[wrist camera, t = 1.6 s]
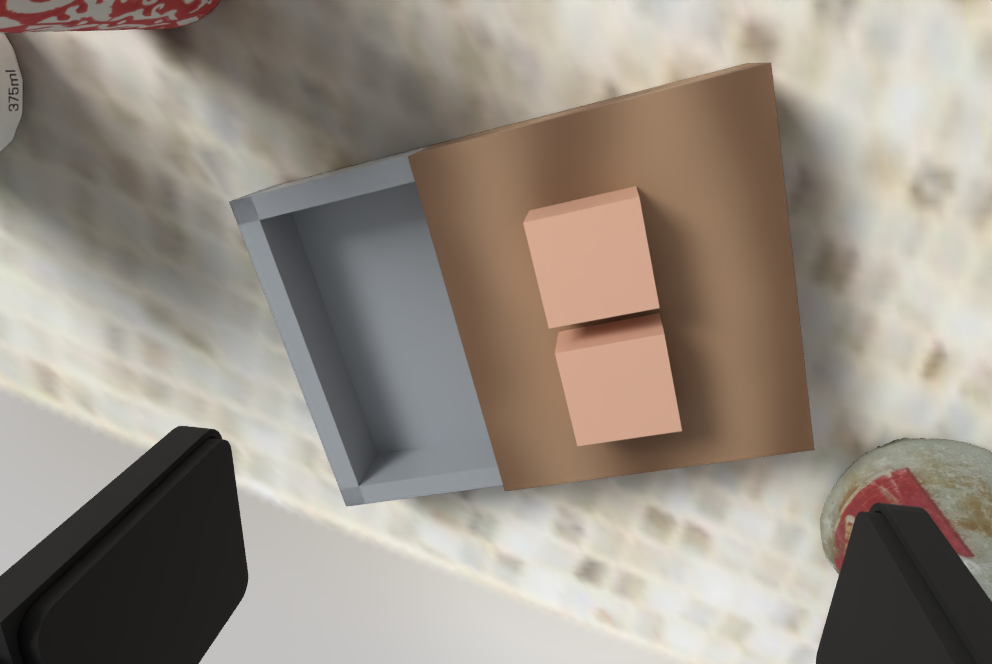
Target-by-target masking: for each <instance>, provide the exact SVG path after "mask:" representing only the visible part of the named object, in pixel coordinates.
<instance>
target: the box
mask: <svg viewBox="0 0 992 664" xmlns="http://www.w3.org/2000/svg"><path fill="white" fill-rule="evenodd" d="M430 146H431V145H430ZM427 147H429V146H427ZM427 147H423V148H419V149H415V150H411V151H407V152H403V153H400V154H396V155H392V156H388V157H384V158H380V159H376V160H373V161H369V162H365V163H361V164H357V165H353V166H350V167H346V168H342V169H338V170H334V171H330V172H326V173H323V174H319V175H315V176H311V177H307V178H303V179H299V180H296V181H292V182H288V183H284V184H280V185H276V186H272V187H269V188H266V189H263V190H260V191H257V192H255V193H252V194H249V195H246V196H244V197H241V198H238V199H235V200H233V201H230V202H229V203H230V205H231V208H232V210H233V213H234V216H235V218H236V221H237V223H238V226H239V229H240V231H241V234H242V236H243V239H244V242H245V244H246V247H247V249H248V252H249V255H250V257H251V260H252V262H253V265H254V268H255V270H256V273H257V275H258V278H259V281H260V283H261V286H262V288H263V291H264V294H265V296H266V299H267V301H268V304H269V307H270V309H271V312H272V314H273V317H274V320H275V322H276V325H277V327H278V330H279V333H280V335H281V338H282V340H283V343H284V346H285V348H286V351H287V353H288V356H289V359H290V361H291V364H292V366H293V369H294V372H295V374H296V377H297V380H298V382H299V385H300V387H301V390H302V393H303V395H304V398H305V400H306V403H307V406H308V408H309V411H310V413H311V416H312V419H313V421H314V424H315V426H316V429H317V432H318V434H319V437H320V439H321V442H322V445H323V447H324V450H325V452H326V455H327V458H328V460H329V463H330V465H331V468H332V471H333V473H334V476H335V478H336V481H337V484H338V486H339V489H340V491H341V494H342V497H343V499H344V502H345V504H346V506H354V505H361V504H369V503H376V502H383V501H391V500H398V499H405V498H413V497H420V496H427V495H435V494H442V493H450V492H457V491H464V490H472V489H479V488H486V487H494V486H501V485H503V483H502V479H501V476H500V473H499V469H498V466H497V462H496V459H495V455H494V452H493V448H492V445H491V442H490V438H489V435H488V431H487V428H486V424H485V421H484V417H483V414H482V411H481V407H480V404H479V400H478V397H477V393H476V390H475V386H474V383H473V380H472V376H471V373H470V369H469V366H468V362H467V359H466V355H465V352H464V349H463V345H462V342H461V338H460V335H459V331H458V328H457V324H456V321H455V318H454V314H453V311H452V307H451V304H450V300H449V297H448V293H447V290H446V287H445V283H444V280H443V276H442V273H441V269H440V266H439V263H438V259H437V256H436V252H435V249H434V245H433V242H432V238H431V235H430V232H429V228H428V225H427V221H426V218H425V214H424V211H423V207H422V204H421V201H420V197H419V194H418V190H417V187H416V183H415V180H414V176H413V173H412V170H411V166H410V163H409V159H408V156H410V155H412V154H414V153H416V152H418V151H420V150H423V149H425V148H427Z"/></svg>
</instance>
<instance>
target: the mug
mask: <svg viewBox="0 0 992 664" xmlns="http://www.w3.org/2000/svg"><path fill="white" fill-rule="evenodd" d="M219 2H220V0H0V33H22V32H46V31H54V32H58V31H97V30H128V29H144V30H147V29H168V28H177V27H182V26H186V25H189V24H191V23H193V22H196V21H198V20H200V19H201V18H203V17H204V16H206V15H207V14H208V13H209V12H211V11H212V10H213V9H214V8H215V7H216V6H217V5H218V3H219Z"/></svg>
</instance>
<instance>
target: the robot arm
mask: <svg viewBox="0 0 992 664" xmlns="http://www.w3.org/2000/svg"><path fill="white" fill-rule="evenodd" d="M247 583H248V569H247V562H246V556H245V547H244V540H243V532H242V525H241V518H240V510H239V503H238V495H237V488H236V480H235V473H234V465H233V458H232V451H231V446H230V444H229V442H228V441H226V440H222V437H221V435H220V433H219V432H218V431H217V430H215V429H207V428H197V427H188V426H178V427H176V428H175V429H173V430H172V431H171V432H170V433H168V434H167V435H166V436H165V437H164V438H162V439H161V440H160V441H159V442H158V443H157V444H155V445H154V446H153V447H152V448H151V449H150V450H148V451H147V452H146V453H145V454H144V455H142V456H141V457H140V458H139V459H138V460H137V461H135V462H134V463H133V464H132V465H131V466H130V467H128V468H127V469H126V470H125V471H124V472H122V473H121V474H120V475H119V476H118V477H117V478H115V479H114V480H113V481H112V482H111V483H110V484H108V485H107V486H106V487H105V488H104V489H102V490H101V491H100V492H99V493H98V494H97V495H95V496H94V497H93V498H92V499H91V500H90V501H88V502H87V503H86V504H85V505H84V506H82V507H81V508H80V509H79V510H78V511H77V512H75V513H74V514H73V515H72V516H71V517H70V518H68V519H67V520H66V521H65V522H64V523H63V524H61V525H60V526H59V527H58V528H56V529H55V530H54V531H53V532H52V533H51V534H49V535H48V536H47V537H46V538H45V539H44V540H42V541H41V542H40V543H39V544H38V545H36V547H34V548H33V549H32V550H31V551H29V552H28V553H27V554H26V555H25V556H24V557H22V558H21V559H20V560H19V561H18V562H17V563H15V564H14V565H13V566H12V567H11V568H9V569H8V570H7V571H6V572H5V573H4V574H2V575H1V576H0V664H199V662H200V661H201V659H202V657H203V656H204V655H205V653H206V652H207V650H208V649H209V647H210V646H211V644H212V643H213V641H214V640H215V638H216V637H217V635H218V634H219V632H220V631H221V630H222V628H223V627H224V625H225V624H226V622H227V621H228V619H229V618H230V616H231V615H232V613H233V611H234V610H235V609H236V607H237V606H238V604H239V603H240V601H241V600H242V598H243V596H244V594H245V591H246V587H247ZM816 664H992V601H991V600H990V598H989V597H988V596H987V594H986V593H985V591H984V590H983V589H982V587H981V586H980V584H979V583H978V582H977V580H976V579H975V578H974V576H973V575H972V573H971V572H970V571H969V569H968V568H967V566H966V565H965V564H964V562H963V561H962V559H961V558H960V557H959V555H958V554H957V553H956V551H955V550H954V548H953V547H952V546H951V544H950V543H949V541H948V540H947V539H946V537H945V536H944V534H943V533H942V532H941V530H940V529H939V528H938V526H937V525H936V523H935V522H934V521H933V519H932V518H931V516H930V515H929V514H928V513H927V512H926V511H925V510H924V509H923V508H920V507H914V506H905V505H896V504H887V503H875V504H873V506H872V507H871V508H870V510H869V512H864V511H861V512H859V513H858V514H857V516H856V518H855V521H854V524H853V528H852V531H851V535H850V538H849V542H848V545H847V549H846V553H845V556H844V560H843V563H842V567H841V570H840V574H839V577H838V581H837V584H836V588H835V591H834V595H833V598H832V602H831V606H830V609H829V613H828V616H827V620H826V623H825V627H824V630H823V634H822V637H821V641H820V644H819V648H818V651H817V657H816Z"/></svg>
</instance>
